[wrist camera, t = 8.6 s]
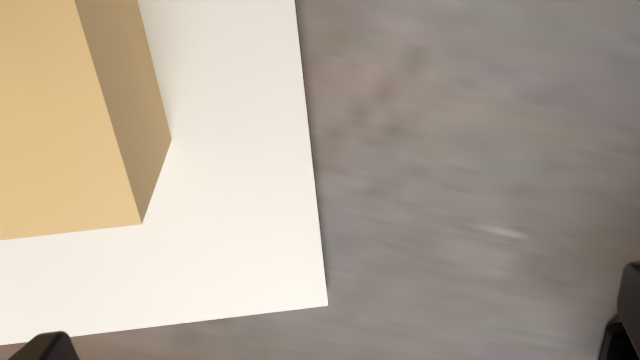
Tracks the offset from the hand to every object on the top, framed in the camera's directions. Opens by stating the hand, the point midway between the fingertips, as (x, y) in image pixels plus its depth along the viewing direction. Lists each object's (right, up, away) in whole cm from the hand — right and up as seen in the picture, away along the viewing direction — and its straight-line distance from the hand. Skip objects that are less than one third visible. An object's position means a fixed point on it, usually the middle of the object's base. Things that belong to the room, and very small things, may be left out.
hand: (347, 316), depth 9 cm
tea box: (-8, +7, +8) cm, 13 cm away
